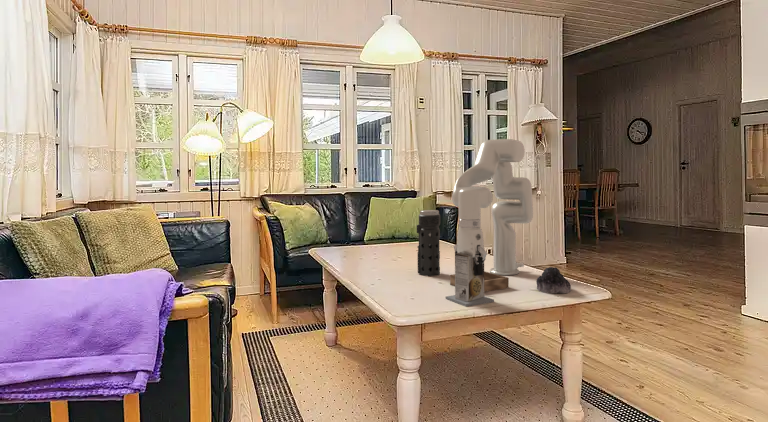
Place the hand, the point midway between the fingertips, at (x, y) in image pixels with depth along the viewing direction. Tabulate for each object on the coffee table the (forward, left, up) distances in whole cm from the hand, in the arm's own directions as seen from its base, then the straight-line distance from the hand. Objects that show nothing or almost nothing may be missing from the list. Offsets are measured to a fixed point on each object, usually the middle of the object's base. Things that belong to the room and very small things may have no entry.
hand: (469, 272), depth 177 cm
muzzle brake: (-12, -45, -10) cm, 47 cm away
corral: (-16, -15, -10) cm, 24 cm away
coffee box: (0, 0, -9) cm, 9 cm away
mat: (0, 0, -10) cm, 10 cm away
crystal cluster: (-36, +4, -10) cm, 37 cm away
